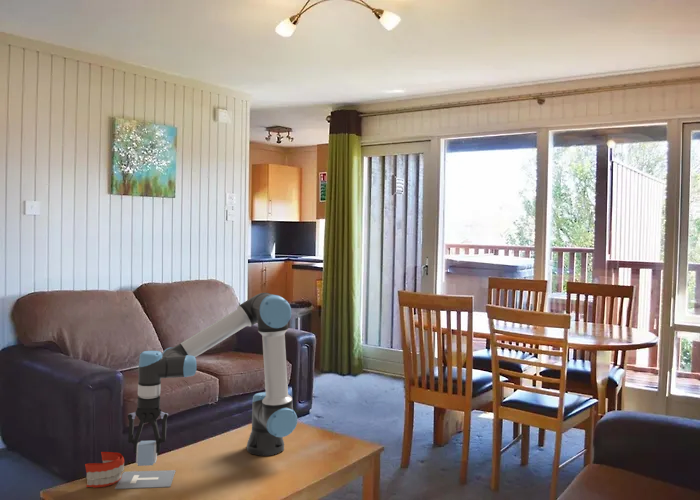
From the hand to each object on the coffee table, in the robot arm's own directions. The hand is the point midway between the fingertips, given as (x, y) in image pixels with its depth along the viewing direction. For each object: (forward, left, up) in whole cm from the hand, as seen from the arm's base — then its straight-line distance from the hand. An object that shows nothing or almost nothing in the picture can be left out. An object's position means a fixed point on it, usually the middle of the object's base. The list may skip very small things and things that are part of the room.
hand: (146, 461), depth 206 cm
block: (0, 0, 0) cm, 0 cm away
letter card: (0, 0, -6) cm, 6 cm away
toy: (+12, +1, -6) cm, 14 cm away
